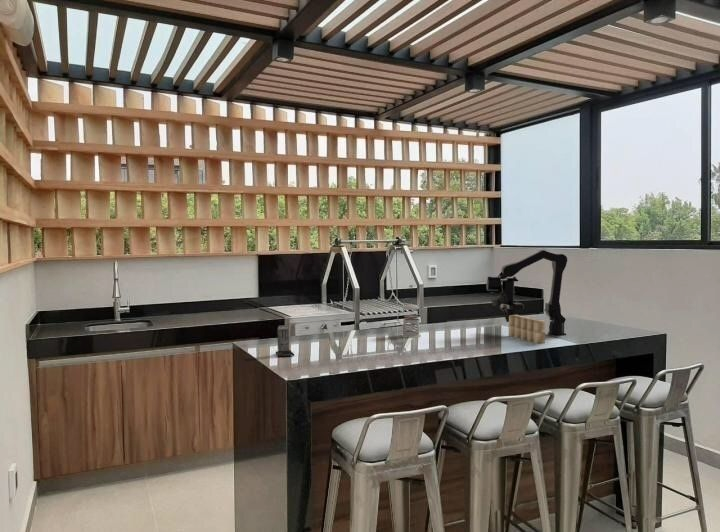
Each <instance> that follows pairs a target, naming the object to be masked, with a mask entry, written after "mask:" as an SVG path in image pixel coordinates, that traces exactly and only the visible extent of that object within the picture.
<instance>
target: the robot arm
mask: <svg viewBox="0 0 720 532" xmlns="http://www.w3.org/2000/svg"><path fill="white" fill-rule="evenodd" d="M543 259H544V260H547V261H550V262H551V268H552V280H551V289H550V297H549V301H548V302H545V305H544V306H545V307H544V312H545V315H546V317H548V319H549V324H548V332H547V334H549V335H553V336H566V335H567V333H566V332H565V323H566V321H567V319H566V318H565V317H564V315H562V310H561V309H562V308H561V303H560V299H561V298H560V297H561V290H562V282H563V274H564V271H565V269H566V268H567V263H568V257H567V255H566V254H564V253H553V252H551V251H547V250H545V249H541V250H538V251H537V252H535V253H533V254H531V255H529V256H527V257H525V258H522V259H521V260H519V261H516V262H512V263H508V264H505V265H503V266H501V267H502V268H501V271H500V273H499V274H498V275H497V276H487V278H486V283H485V286H486V291H500V289H501V292H499V295H497V296H495V297H493V298H491V299H490V300H491V304H492V306H494V307H499V309H500V310H501V311H502V312H503V315H504V319H505V321H506V323H509V315H514V313H515V311H516V310H517V311H518V310H524V309H525V305H524V304H523V302H522V303H521V302H516V301H517V300H515V296H516V295H517V292H515V282H519V280H518V278H517V277H516V276H515V275H517V274H518V273H519V272H520V271H521V270H523V269H525V268H527V267H528V266H531V265H532V264H535V263H537V262H539V261H542V260H543Z"/></svg>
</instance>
